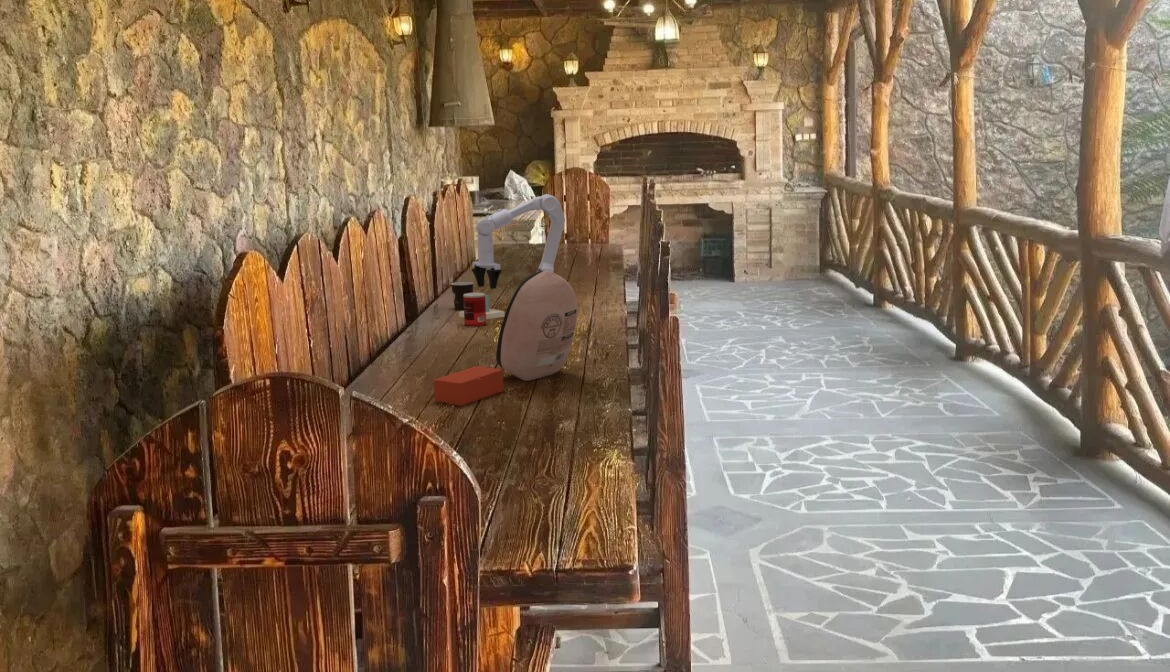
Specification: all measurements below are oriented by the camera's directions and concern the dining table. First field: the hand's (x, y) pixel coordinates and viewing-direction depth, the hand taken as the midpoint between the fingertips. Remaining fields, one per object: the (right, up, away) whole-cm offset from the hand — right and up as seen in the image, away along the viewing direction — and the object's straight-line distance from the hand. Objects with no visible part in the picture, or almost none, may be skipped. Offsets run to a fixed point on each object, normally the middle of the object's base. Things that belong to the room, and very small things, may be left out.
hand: (487, 287), depth 395 cm
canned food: (-2, -14, -19) cm, 24 cm away
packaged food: (+24, -30, -102) cm, 109 cm away
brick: (+7, -34, -121) cm, 126 cm away
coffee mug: (-11, -8, +18) cm, 22 cm away
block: (-2, -9, -3) cm, 9 cm away
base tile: (-2, -11, -2) cm, 11 cm away
